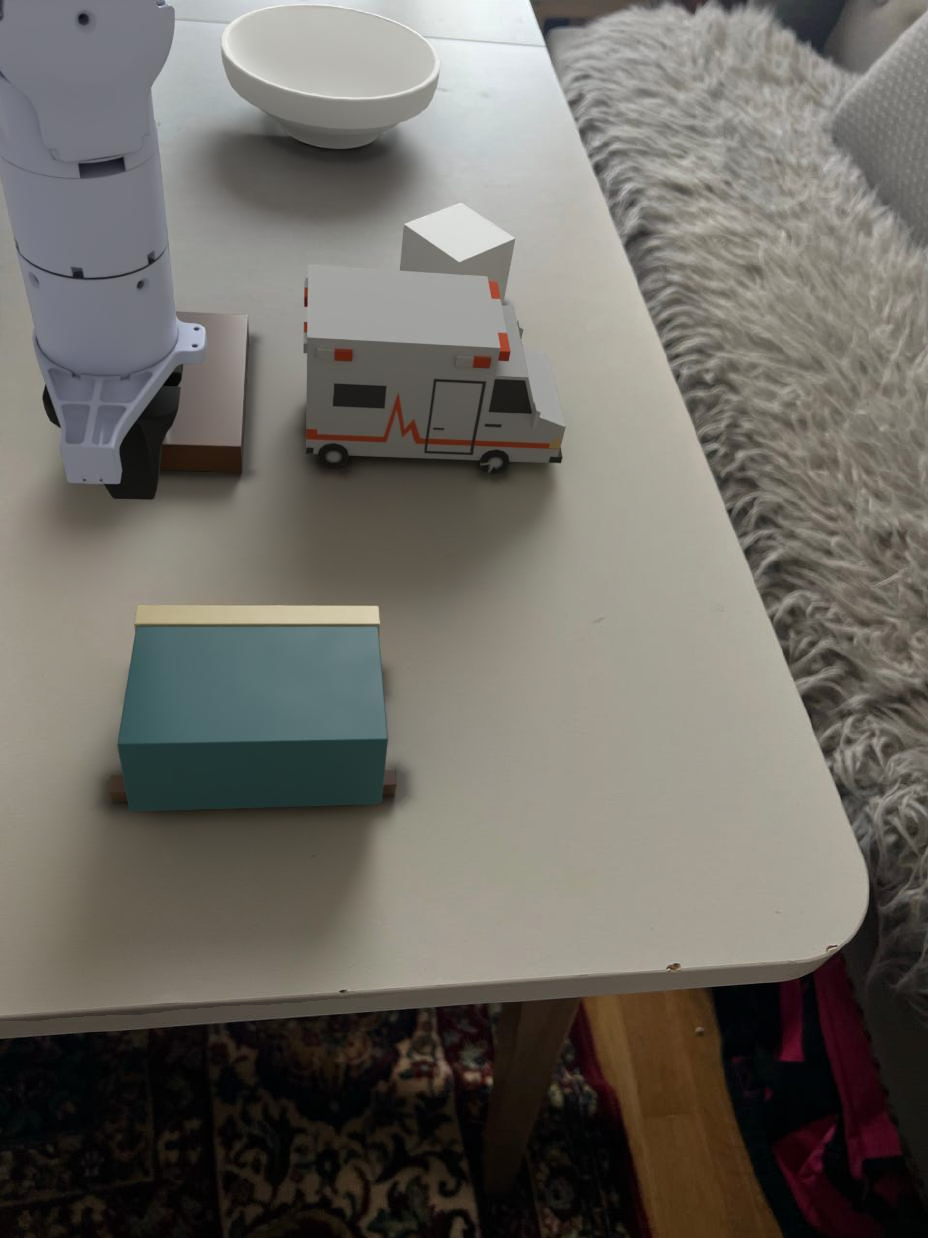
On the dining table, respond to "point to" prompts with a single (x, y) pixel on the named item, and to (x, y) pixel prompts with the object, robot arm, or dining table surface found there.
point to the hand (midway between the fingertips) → (134, 489)
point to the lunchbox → (253, 707)
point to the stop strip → (119, 794)
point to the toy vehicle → (423, 371)
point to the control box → (211, 400)
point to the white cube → (458, 246)
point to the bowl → (330, 71)
